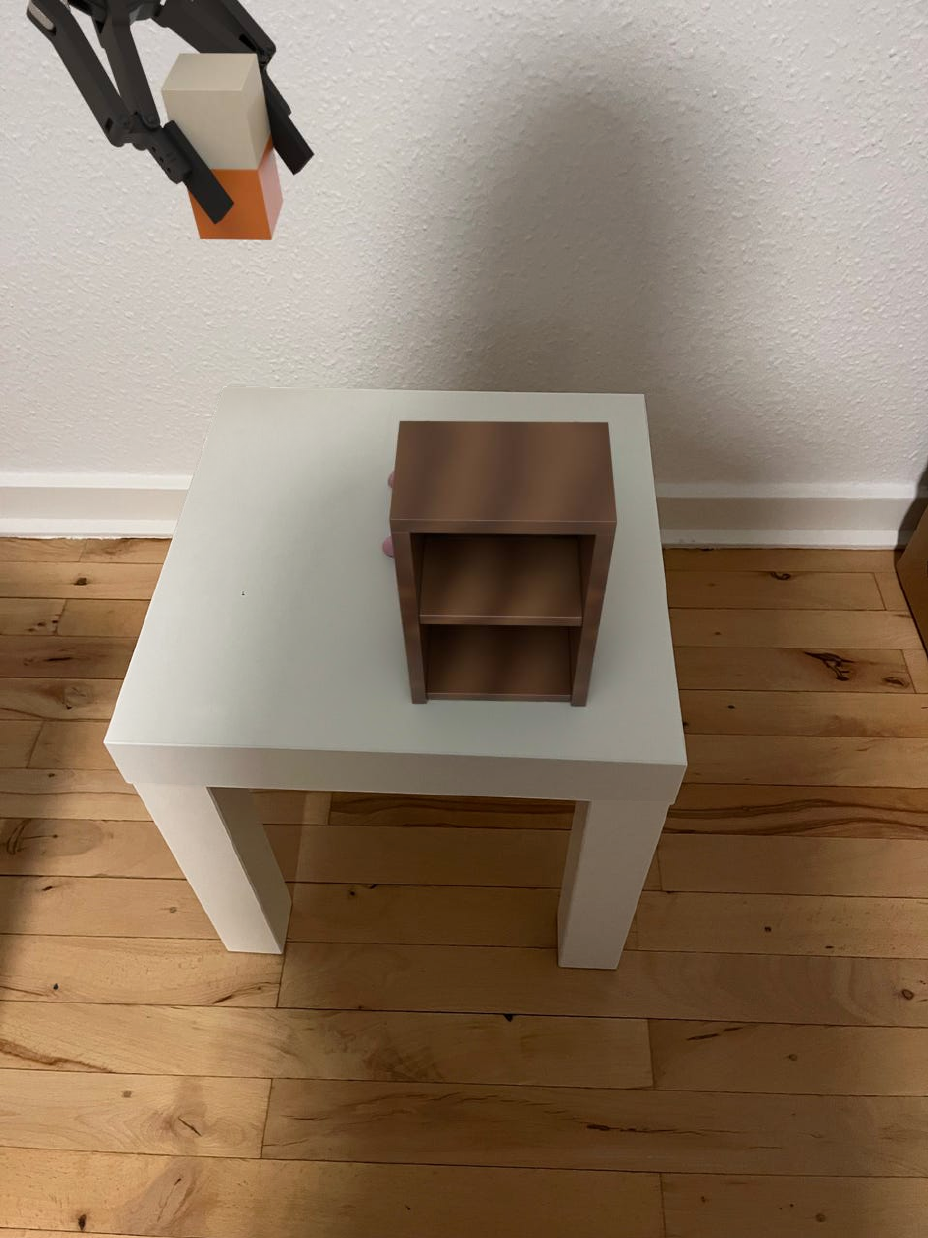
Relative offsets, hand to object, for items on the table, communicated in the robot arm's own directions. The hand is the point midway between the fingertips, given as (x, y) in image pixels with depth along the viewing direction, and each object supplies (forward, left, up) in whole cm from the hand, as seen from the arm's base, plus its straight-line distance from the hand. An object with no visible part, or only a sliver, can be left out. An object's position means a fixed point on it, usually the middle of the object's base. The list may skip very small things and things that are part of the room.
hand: (265, 188), depth 69 cm
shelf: (+14, -26, -28) cm, 40 cm away
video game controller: (+9, -9, -28) cm, 31 cm away
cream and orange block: (-2, +2, -4) cm, 5 cm away
